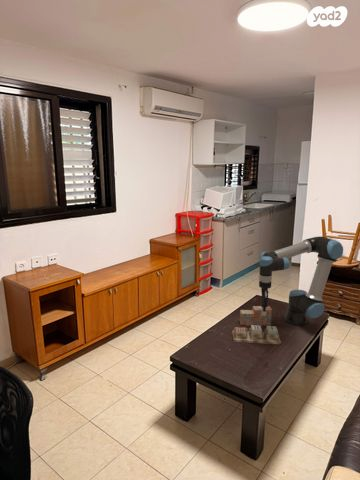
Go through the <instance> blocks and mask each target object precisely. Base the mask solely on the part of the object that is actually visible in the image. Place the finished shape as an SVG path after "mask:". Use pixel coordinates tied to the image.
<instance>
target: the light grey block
mask: <svg viewBox="0 0 360 480" xmlns="http://www.w3.org/2000/svg"><path fill="white" fill-rule="evenodd" d="M277 328H278V327H277V326H276V325H275V326H274V325H273V326H272V325H271V326H266V328H265V329H266V331H267V335H277V332H278V333H279V331H278V329H277Z"/></svg>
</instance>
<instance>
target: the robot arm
mask: <svg viewBox="0 0 360 480" xmlns="http://www.w3.org/2000/svg"><path fill="white" fill-rule="evenodd" d="M305 253H306V254H310V253H316V254H317V258H318V261H317V264H316V268H315V271H314V275H313V277H312V280H311V283H310V286H309V289H308V292H307V291H306V290H303V289H293V290H290V291H289V294H288V305H287V306H288V307H287V311H286V312H285V314H284V315H285V316H284V321H285V322H286V323H288V324H290V325H293V326H304V325H306V324H307V322H308V321H307V320H308V319H307V317H309V318H311V319H317V318H319V317H321V316H322V315H323V313H324V312H325V306H324V304H323V302H324V299H323V293H324V290H325V287H326V284H327V281H328V278H329V275H330V272H331V269H332V266H333V264H334V263H336V262H337V260H339V259H340V258H341V257H342V256H343V253H344V247H343V244H342V243H341V242H340V241H338V240H336V239H332V238H328V237H325V236H314V237H313V236H312V237H310V238H305V239H303V240H302V242H298V243H296V244H291V245H289V246H287V247H286V246H285V247H283V248H279V249H277V250H272V251H270V252H268V251H263V252H261V253H260V255H259V275H258V280H259V281H258V286H259V288H261V289H260V290H261V291H260V292H261V305H260V306H261V307H262V316H266V307H267V306H268V300H269V289H271V288H272V279H273V278H272V277H273V272H278V271H284V270H288V269H290V260H289V259H290V258H293V257H295V256H296V257H297V256H299V255H302V254H305Z"/></svg>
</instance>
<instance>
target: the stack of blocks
mask: <svg viewBox="0 0 360 480" xmlns="http://www.w3.org/2000/svg"><path fill="white" fill-rule="evenodd" d="M272 316H273V309H272V308H271V306H268V305H267V307H266V316H262V307H261V305H256V306H255V305H253V306H252V309H240V310H239V323H240V326H250V327H251V325H259V326H261V327H262V326H263V327H267V326H272V318H273V317H272Z"/></svg>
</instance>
